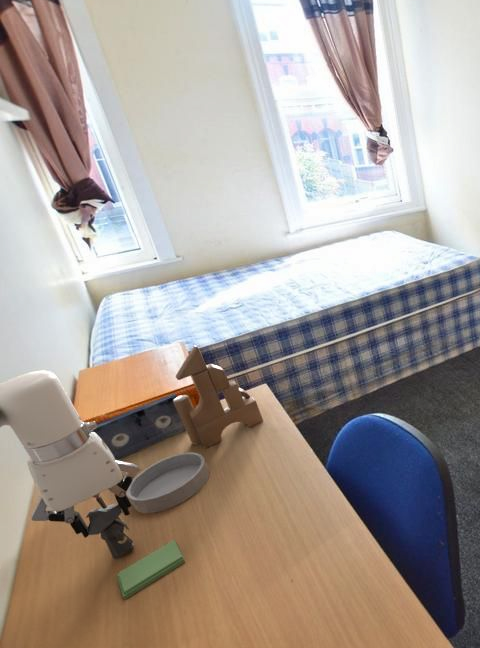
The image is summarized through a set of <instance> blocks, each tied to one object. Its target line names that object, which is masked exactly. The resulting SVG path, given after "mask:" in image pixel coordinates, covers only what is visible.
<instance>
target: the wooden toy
mask: <svg viewBox="0 0 480 648" xmlns="http://www.w3.org/2000/svg"><path fill="white" fill-rule="evenodd" d="M188 377H191V381H192V382H193V385H194V386H195V389H196V391H197V393H198V396H199V400H198V404H197V405H196V406H195V407H194V406H193V403H192V401H191V399H190V396H189V395H188V394H182V395H178V396H177V398H175V399H174V400H173V403H174V405H175V407H176V410H177V412H178V414H179V416H180V418H181V420H182V423H183V425H184V427H185V429H186V430H185V432H186V433H187V435H188V438H189V440H190V442H191V443H192V444H193V445H198V444H202V445H203V447H204V449H207V448H209V447H211V446H213V445H215V444H218V443H220V442H222V434H223V432H224V430H226V428H227V427H228V426H230V425H232V424H235V423H243V424H245V425H246V426H247V427H248V428H251V427H252V426H255V425H257V424H259V423H261V422H263V421H264V418H263V416H262V413H261V411H260V408H259V405H258V403H257V400H256V399H254V397H253V396H251V395H250V393H248V392H247V391H246V390H244V388H242V387H239V385H238V383H237V382H235V380H229V379H228V376H227V374H226V371H225V369H224V368H222V366H219V365H216V364H213V363H208V364H206V362H205V360H204V357H203V355H202V352H201V350H200V347H199V346H197V344H195V345H193V346H192V348H191V350H190V351H189V353H188V354H187V356H186V358H185V360H184V361H183V363H182V365H181V366H180V367H179V369H178V370H177V373H176V374H175V379H176V380H177V381H181V380H183V379H185V378H188ZM220 391H221V392H222V395H223V397H224V399H225V402H226V404H227V407H225V408H224V407H223V404H222V402H221V400H220V397H219V395H218V392H220Z"/></svg>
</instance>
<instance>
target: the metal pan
mask: <svg viewBox="0 0 480 648" xmlns="http://www.w3.org/2000/svg"><path fill="white" fill-rule="evenodd" d="M209 477H210V469H209V466H208V463H207V461H206V459H205V458H204V456H203V455H202V454H200V453H197V452H182V453H177V454H174V455H171V456H168V457H165V458H163V459H160V460H159V461H156V462H155V463H154V462H153V464H151V465H149V466H148V467H146V468H145V469H143V470H142V471H141V472H139V473H137V475H136V476H135V477H134V478H133V480H132V483H131V485H130V486H129V488H128V490H127V492H126V495H127V497H128V499H129V501H130V502H131V504H132V507H133V509H135V511H137V512H140V513H142V514H152V513H158V512H161V511H165V510H167V509H168V510H169V509H170V508H174V507H175V506H177V505H179V504H181V503H183V502H185V501H186V500H188V499H189V498H191V497H192V496H194V495H195V494H197V492H199V491H200V490H201V489H202V488H203V486H204V485H205V484H206V483H207V482H208V480H209Z"/></svg>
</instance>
